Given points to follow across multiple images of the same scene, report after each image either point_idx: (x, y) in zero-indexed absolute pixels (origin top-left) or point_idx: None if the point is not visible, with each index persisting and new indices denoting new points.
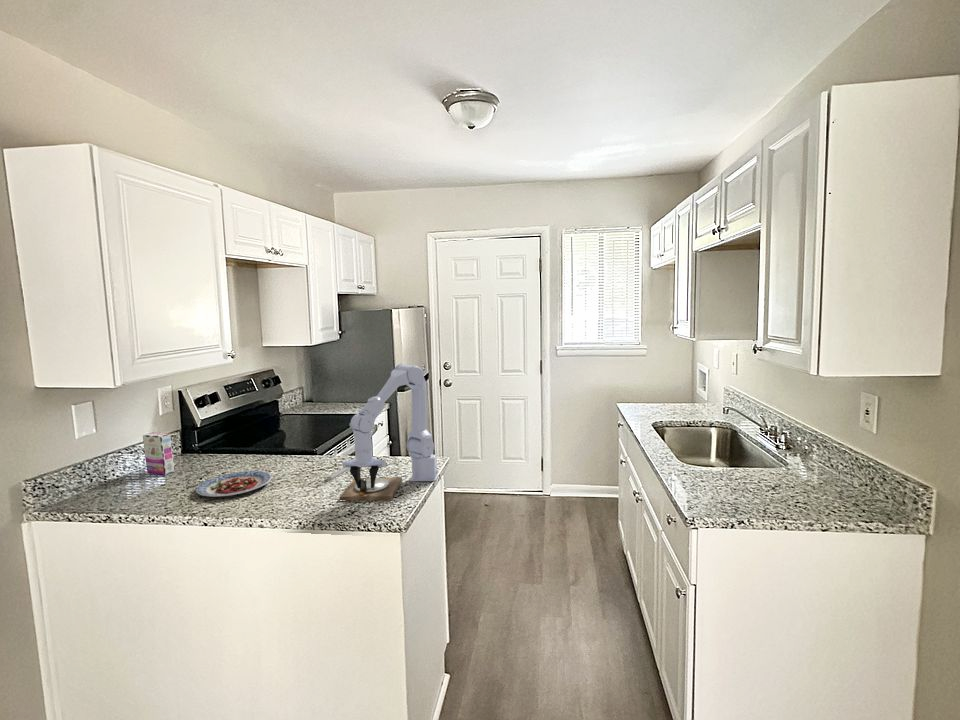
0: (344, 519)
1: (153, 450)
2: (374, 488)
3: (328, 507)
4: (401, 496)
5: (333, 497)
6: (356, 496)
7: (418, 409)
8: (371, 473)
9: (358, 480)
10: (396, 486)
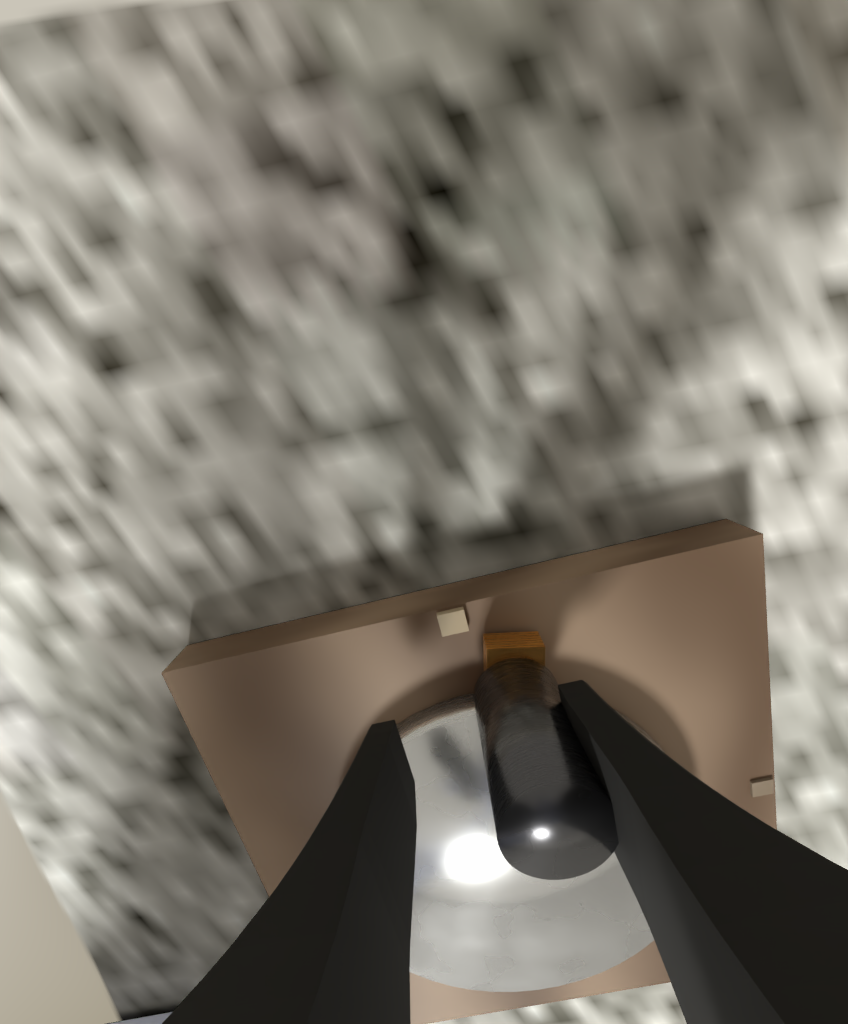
0: (410, 4)
1: None
2: (415, 771)
3: (789, 331)
4: (151, 737)
5: (834, 592)
6: (553, 587)
7: None
8: (266, 1001)
9: (612, 785)
10: (260, 877)
